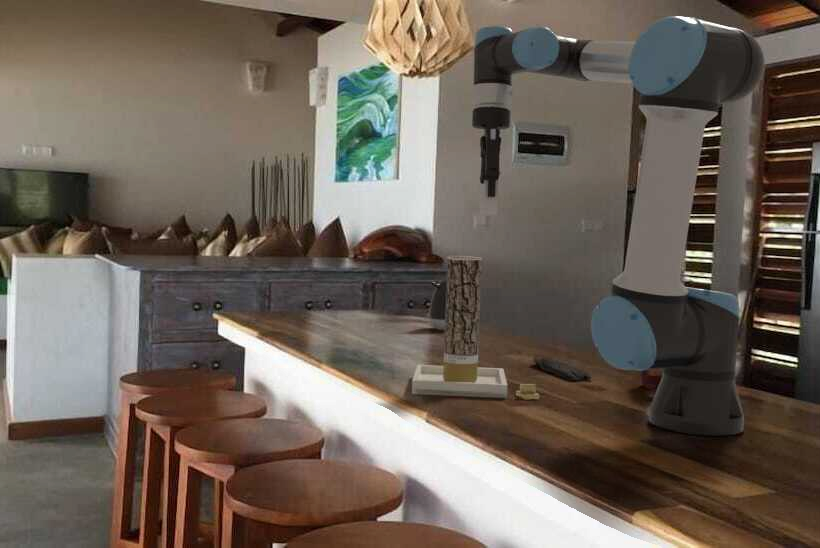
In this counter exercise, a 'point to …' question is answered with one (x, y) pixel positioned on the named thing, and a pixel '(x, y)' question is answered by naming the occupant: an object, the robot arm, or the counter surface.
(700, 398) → the robot arm
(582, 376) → the wood
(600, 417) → the counter surface
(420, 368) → the ceramic dish
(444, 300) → the pump dispenser
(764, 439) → the counter surface
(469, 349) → the paper tube
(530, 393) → the tan short block
